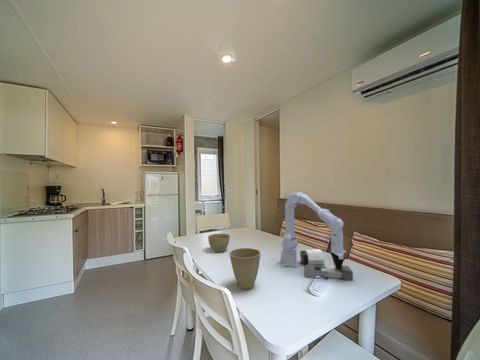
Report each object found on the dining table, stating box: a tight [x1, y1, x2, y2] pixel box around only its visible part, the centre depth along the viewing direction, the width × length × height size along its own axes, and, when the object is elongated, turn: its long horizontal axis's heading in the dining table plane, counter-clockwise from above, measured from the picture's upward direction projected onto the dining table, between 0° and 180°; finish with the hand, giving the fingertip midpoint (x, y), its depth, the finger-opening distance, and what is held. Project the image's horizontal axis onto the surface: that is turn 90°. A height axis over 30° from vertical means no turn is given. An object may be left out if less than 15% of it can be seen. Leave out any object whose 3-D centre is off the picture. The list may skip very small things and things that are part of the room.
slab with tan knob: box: [321, 266, 342, 279], centre depth 107 cm, size 13×4×7 cm, turn 78°
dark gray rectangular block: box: [341, 265, 354, 282], centre depth 106 cm, size 4×7×4 cm, turn 168°
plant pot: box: [229, 247, 261, 290], centre depth 100 cm, size 15×15×16 cm
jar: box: [299, 248, 325, 266], centre depth 125 cm, size 9×8×12 cm
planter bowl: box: [207, 233, 231, 253], centre depth 154 cm, size 16×16×11 cm
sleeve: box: [303, 264, 328, 279], centre depth 109 cm, size 11×7×4 cm, turn 78°
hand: (337, 268), depth 107 cm, fingers closed on slab with tan knob, 3 cm apart
